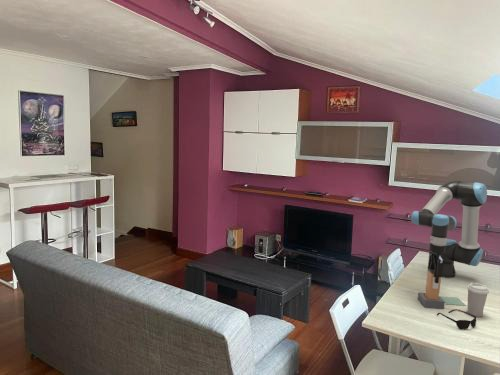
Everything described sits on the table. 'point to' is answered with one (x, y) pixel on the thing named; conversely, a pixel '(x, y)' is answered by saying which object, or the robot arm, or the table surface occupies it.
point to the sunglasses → (462, 323)
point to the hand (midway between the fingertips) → (432, 286)
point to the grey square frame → (430, 302)
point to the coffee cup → (476, 298)
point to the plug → (430, 291)
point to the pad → (452, 301)
